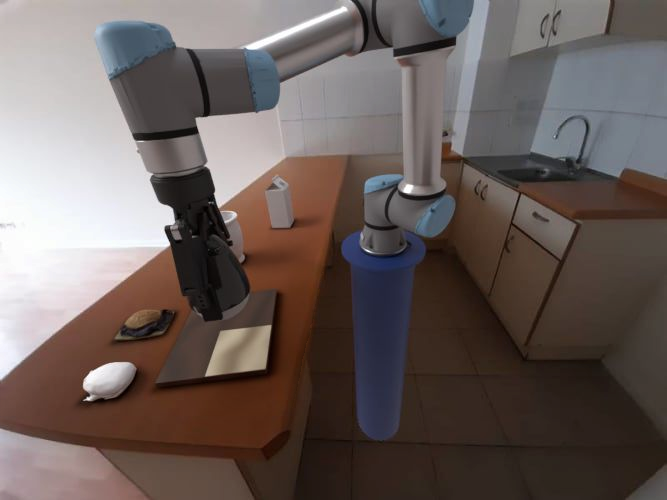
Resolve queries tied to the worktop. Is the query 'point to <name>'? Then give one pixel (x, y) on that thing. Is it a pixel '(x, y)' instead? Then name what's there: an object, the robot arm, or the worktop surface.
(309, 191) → the worktop surface
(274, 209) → the milk carton
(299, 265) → the worktop surface
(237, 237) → the jar
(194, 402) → the worktop surface
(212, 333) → the cutting board
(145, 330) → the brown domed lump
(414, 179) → the robot arm
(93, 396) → the garlic
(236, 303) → the black egg-shaped ornament
